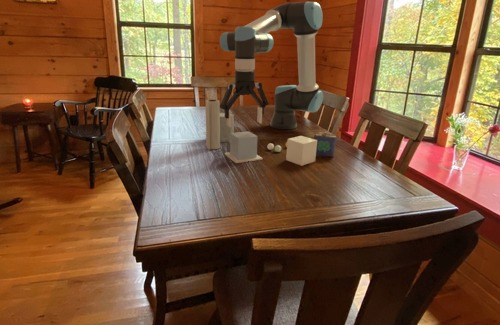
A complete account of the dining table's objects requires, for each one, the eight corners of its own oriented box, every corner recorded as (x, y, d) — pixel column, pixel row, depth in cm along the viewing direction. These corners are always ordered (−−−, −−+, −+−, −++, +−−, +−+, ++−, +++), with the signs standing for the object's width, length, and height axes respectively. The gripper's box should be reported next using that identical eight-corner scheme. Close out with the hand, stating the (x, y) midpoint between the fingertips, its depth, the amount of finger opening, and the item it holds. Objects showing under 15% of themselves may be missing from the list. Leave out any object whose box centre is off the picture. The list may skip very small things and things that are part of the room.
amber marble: (288, 139, 152) (283, 143, 151) (292, 141, 149) (287, 145, 149) (290, 143, 153) (285, 147, 153) (294, 145, 151) (289, 149, 150)
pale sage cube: (248, 151, 143) (248, 131, 140) (256, 157, 136) (257, 136, 133) (230, 153, 139) (230, 133, 136) (238, 159, 132) (238, 138, 129)
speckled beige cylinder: (230, 143, 156) (231, 117, 152) (211, 141, 158) (211, 116, 154) (235, 137, 165) (236, 113, 161) (217, 136, 167) (217, 112, 162)
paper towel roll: (214, 144, 152) (213, 98, 145) (222, 148, 148) (222, 100, 141) (201, 148, 148) (200, 100, 140) (209, 151, 144) (209, 102, 136)
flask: (334, 155, 142) (337, 131, 139) (333, 157, 140) (336, 133, 136) (312, 153, 145) (314, 129, 141) (311, 155, 142) (314, 131, 138)
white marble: (272, 150, 149) (271, 143, 149) (275, 149, 146) (274, 142, 146) (266, 150, 148) (266, 143, 148) (269, 149, 145) (268, 142, 145)
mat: (249, 151, 145) (249, 149, 145) (262, 159, 135) (262, 158, 135) (224, 154, 140) (224, 152, 140) (235, 163, 130) (235, 161, 130)
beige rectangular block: (299, 156, 141) (301, 135, 138) (315, 161, 135) (317, 140, 132) (286, 159, 136) (287, 138, 132) (301, 165, 130) (303, 143, 127)
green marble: (279, 150, 147) (279, 144, 146) (282, 152, 145) (282, 146, 144) (273, 151, 146) (273, 144, 145) (276, 153, 143) (276, 146, 142)
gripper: (268, 68, 134) (267, 119, 142) (210, 70, 124) (212, 125, 131) (278, 70, 128) (275, 123, 135) (217, 72, 117) (219, 130, 125)
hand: (244, 124), depth 133 cm, fingers open, 13 cm apart
